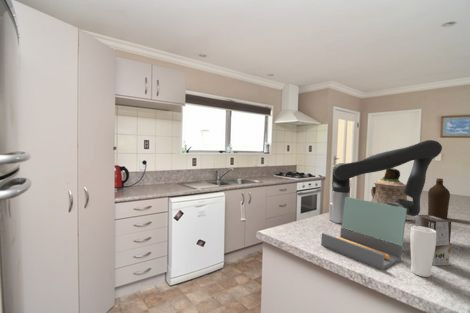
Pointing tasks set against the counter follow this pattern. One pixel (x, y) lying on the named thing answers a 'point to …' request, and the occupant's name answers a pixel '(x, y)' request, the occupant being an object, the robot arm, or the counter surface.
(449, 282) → the counter surface
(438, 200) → the olive oil
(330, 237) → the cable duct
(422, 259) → the white tapered cylinder
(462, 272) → the counter surface
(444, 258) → the coffee box
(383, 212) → the panel
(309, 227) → the counter surface
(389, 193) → the cookie jar
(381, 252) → the wooden dowel rod
